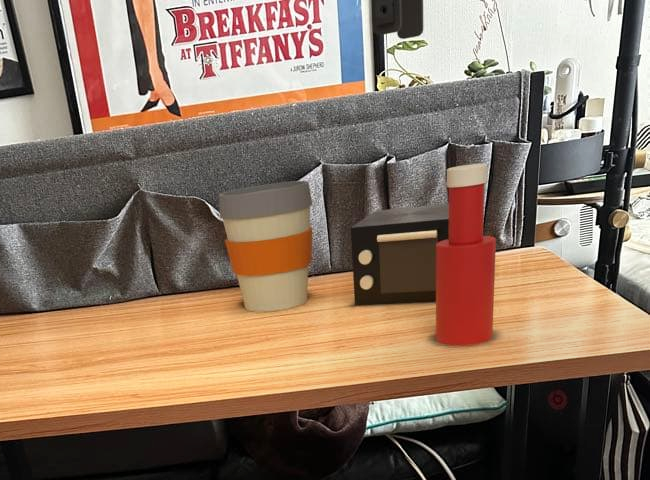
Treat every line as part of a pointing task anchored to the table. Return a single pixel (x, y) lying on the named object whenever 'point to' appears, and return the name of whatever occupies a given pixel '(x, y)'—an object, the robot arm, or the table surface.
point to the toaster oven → (398, 254)
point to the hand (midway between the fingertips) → (399, 35)
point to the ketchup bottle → (465, 263)
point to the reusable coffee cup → (269, 243)
